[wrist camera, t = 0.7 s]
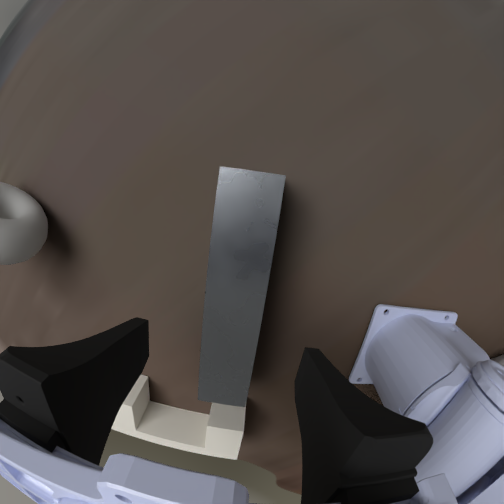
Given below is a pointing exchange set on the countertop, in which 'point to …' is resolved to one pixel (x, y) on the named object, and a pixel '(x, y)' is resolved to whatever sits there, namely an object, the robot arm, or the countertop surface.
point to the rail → (237, 281)
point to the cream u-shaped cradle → (181, 424)
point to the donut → (20, 225)
